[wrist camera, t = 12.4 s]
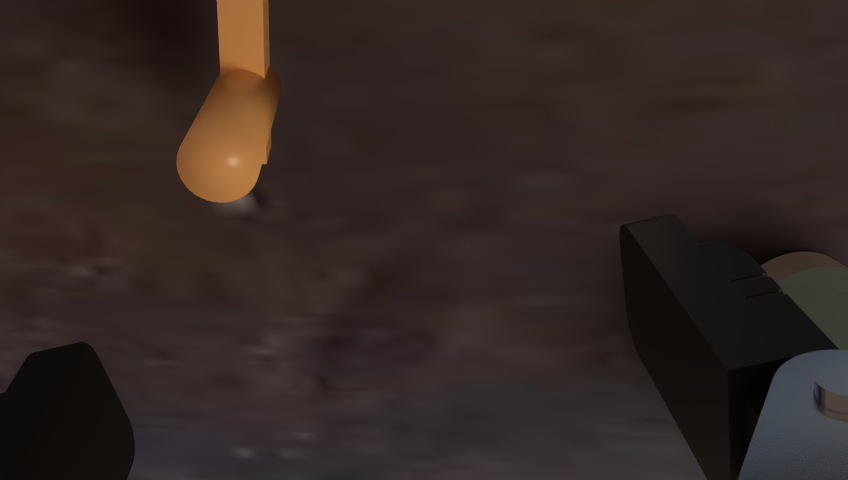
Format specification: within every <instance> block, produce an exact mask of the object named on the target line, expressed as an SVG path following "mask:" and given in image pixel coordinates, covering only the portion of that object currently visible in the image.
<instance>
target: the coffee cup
mask: <svg viewBox="0 0 848 480" xmlns="http://www.w3.org/2000/svg"><path fill="white" fill-rule="evenodd" d="M761 267H762V268H763V269H764V270H765V271H766V272H767V276H768V277H771V278H772V279H773V280H774V281H775V282H776V283H777V284H778V285H779V286H780V287H781V288H782V289H783V293H784V294H787V295H788V296H789V297H790V298H791V299H792V300H793V301H794V302H795V303H796V304H797V305H798V306H799V307H800V308H801V309H802V310H803V311H804V312H805V314H806V315H807V316H808V317H809V318H810V319H811V320H812V321H813V322H814V323H815V324H816V325H817V326H818V327H819V328H820V329H821V330H822V331H823V333H824V334H825V335H826V336H827V337H828V338H829V339H830V340H831V341H832V342H833V343H834V344H835V345H836V346H837V347H838V348H839V349H840V350H846V351H848V268H847V267H845V266H844V265H842V264H841V263H839V262H837V261H836V260H834V259H833V258H831V257H829V256H827V255H824V254H821V253H817V252H809V251H802V252H793V253H788V254H785V255H781V256H779V257H776V258H774V259H772V260H770V261H768V262H766V263H764V264H763V265H761Z"/></svg>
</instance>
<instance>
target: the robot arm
mask: <svg viewBox="0 0 848 480" xmlns="http://www.w3.org/2000/svg"><path fill="white" fill-rule="evenodd" d="M620 248H621V259H622V269H623V279H624V289H625V299H626V310H627V318H628V323H629V328H630V332H631V335H632V339H633V342H634V345H635V347H636V350H637V352H638V354H639V356H640V358H641V360H642V362H643V364H644V365H645V367H646V369H647V371H648V373H649V374H650V376H651V378H652V380H653V382H654V384H655V385H656V387H657V389H658V391H659V393H660V394H661V396H662V398H663V400H664V402H665V403H666V405H667V407H668V409H669V411H670V413H671V414H672V416H673V418H674V420H675V422H676V423H677V425H678V427H679V429H680V431H681V433H682V434H683V436H684V438H685V440H686V442H687V443H688V445H689V447H690V449H691V451H692V453H693V454H694V456H695V458H696V460H697V462H698V463H699V465H700V467H701V469H702V471H703V472H704V474H705V476H706V478H707V480H848V351H846V350H840V349H839V348H838V347H837V346H836V345H835V344H834V343H833V342H832V341H831V340H830V339H829V338H828V337H827V336H826V335H825V334H824V333H823V331H822V330H821V329H820V328H819V327H818V326H817V325H816V324H815V323H814V322H813V321H812V320H811V319H810V318H809V317H808V316H807V315H806V314H805V312H804V311H803V310H802V309H801V308H800V307H799V306H798V305H797V304H796V303H795V302H794V301H793V300H792V299H791V298H790V297H789V296H788V295H787V294H784V293H783V289H782V288H781V287H780V286H779V285H778V284H777V283H776V282H775V281H774V280H773V279H772V278H771V277H768V276H767V272H766V271H765V270H764V269H763V268H762V267H761V266H760V265H759V264H758V263H757V262H756V261H755V260H754V259H753V258H752V256H751V255H750V254H749V253H748V252H745V251H743V250H741V249H739V248H737V247H735V246H732V245H730V244H728V243H726V242H724V241H722V240H719V239H713V240H708V241H703V242H699V243H698V242H697V240H696V239H695V238H694V237H693V236H692V235H691V233H690V232H689V231H688V230H687V229H686V228H685V226H684V225H683V224H682V223H681V222H680V220H679V219H678V218H677V217H676V216H675V215H673V214H669V215H664V216H660V217H655V218H651V219H646V220H641V221H637V222H632V223H628V224H623V225H622V226H621V228H620ZM134 452H135V443H134V435H133V430H132V426H131V423H130V421H129V418H128V416H127V414H126V412H125V410H124V408H123V406H122V404H121V402H120V400H119V398H118V396H117V394H116V392H115V390H114V388H113V386H112V384H111V382H110V380H109V378H108V376H107V374H106V372H105V370H104V368H103V366H102V364H101V362H100V360H99V358H98V356H97V354H96V352H95V351H94V349H93V348H92V347H91V346H90V345H89V344H87V343H85V342H79V343H74V344H70V345H65V346H61V347H56V348H52V349H47V350H42V351H38V352H34V353H31V354H30V355H29V356H28V357H27V358H26V359H25V361H24V363H23V364H22V366H21V368H20V369H19V371H18V372H17V374H16V376H15V377H14V379H13V380H12V382H11V384H10V385H9V387H8V388H7V390H6V392H5V393H1V394H0V480H127V478H128V475H129V472H130V469H131V467H132V464H133V460H134Z"/></svg>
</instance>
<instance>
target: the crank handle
mask: <svg viewBox="0 0 848 480" xmlns="http://www.w3.org/2000/svg"><path fill="white" fill-rule="evenodd" d="M217 11H218V32H219V53H220V74H219V76H218V78H217V80H216V82H215V84H214V85H213V87H212V89H211V91H210V93H209V95H208V96H207V98H206V100H205V102H204V104H203V106H202V107H201V109H200V111H199V113H198V115H197V116H196V118H195V120H194V122H193V124H192V126H191V127H190V129H189V131H188V133H187V135H186V137H185V138H184V140H183V142H182V144H181V146H180V148H179V150H178V154H177V170H178V173H179V176H180V178H181V180H182V181H183V183H184V184H185V185H186V187H187V188H188V189H189V190H190V191H191V192H193V193H194V194H195V195H197V196H199V197H201V198H203V199H205V200H208V201H212V202H220V203H221V202H231V201H235V200H237V199H240V198H241V197H243V196H245V195H246V194H247V193H249V192H250V191H251V189H252V188H253V187H254V185H255V184H256V182H257V179H258V176H259V172H260V168H261V165H262V164H267V160H268V156H269V152H270V149H271V128H272V124H273V120H274V116H275V113H276V109H277V105H278V102H279V98H280V93H281V85H280V80H279V78H278V75H277V73H276V72H275V70H274V69H273V68H272V67H271V66H270V65H269V17H268V0H217Z"/></svg>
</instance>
